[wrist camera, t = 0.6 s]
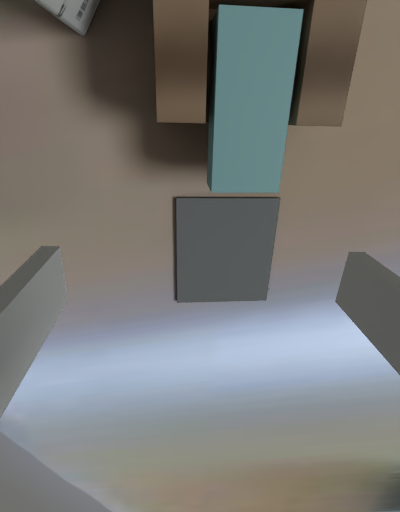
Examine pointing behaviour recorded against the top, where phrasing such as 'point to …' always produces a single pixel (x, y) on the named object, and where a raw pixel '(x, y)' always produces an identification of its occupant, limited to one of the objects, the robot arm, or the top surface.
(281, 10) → the slab
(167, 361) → the top surface
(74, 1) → the ink box
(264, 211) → the mat
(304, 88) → the block
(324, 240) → the top surface
